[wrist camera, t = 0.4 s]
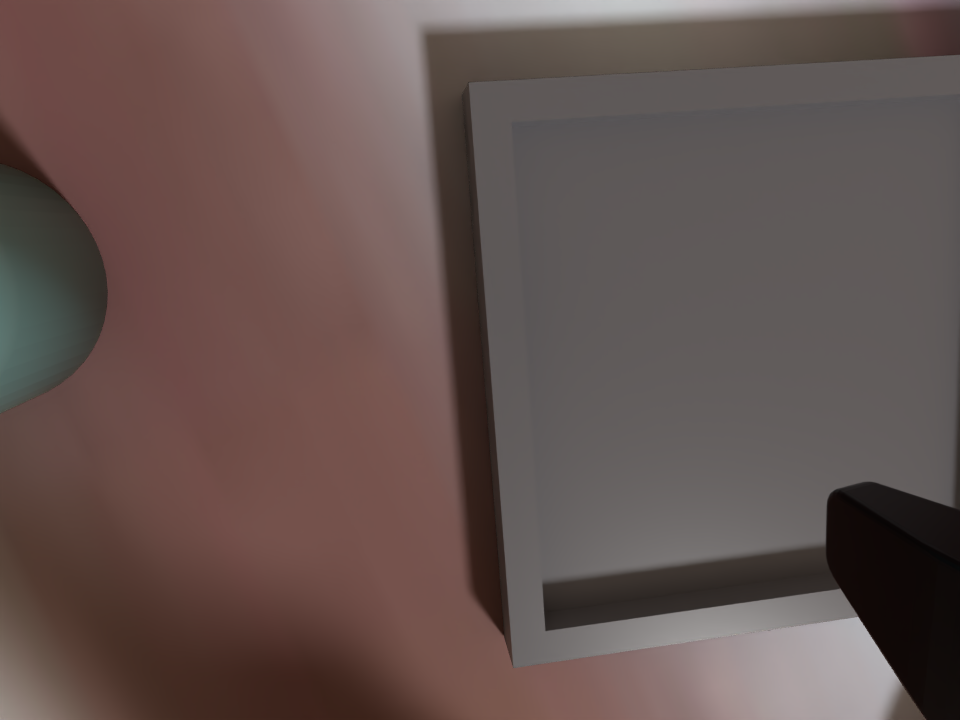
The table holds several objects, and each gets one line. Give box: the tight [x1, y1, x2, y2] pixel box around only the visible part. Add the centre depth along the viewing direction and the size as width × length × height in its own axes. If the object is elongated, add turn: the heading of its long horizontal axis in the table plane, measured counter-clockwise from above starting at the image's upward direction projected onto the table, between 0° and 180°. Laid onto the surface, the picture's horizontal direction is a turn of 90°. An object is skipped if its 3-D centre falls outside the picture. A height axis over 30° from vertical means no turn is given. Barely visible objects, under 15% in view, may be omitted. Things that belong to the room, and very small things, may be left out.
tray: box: [462, 55, 960, 668], centre depth 21 cm, size 16×16×2 cm
